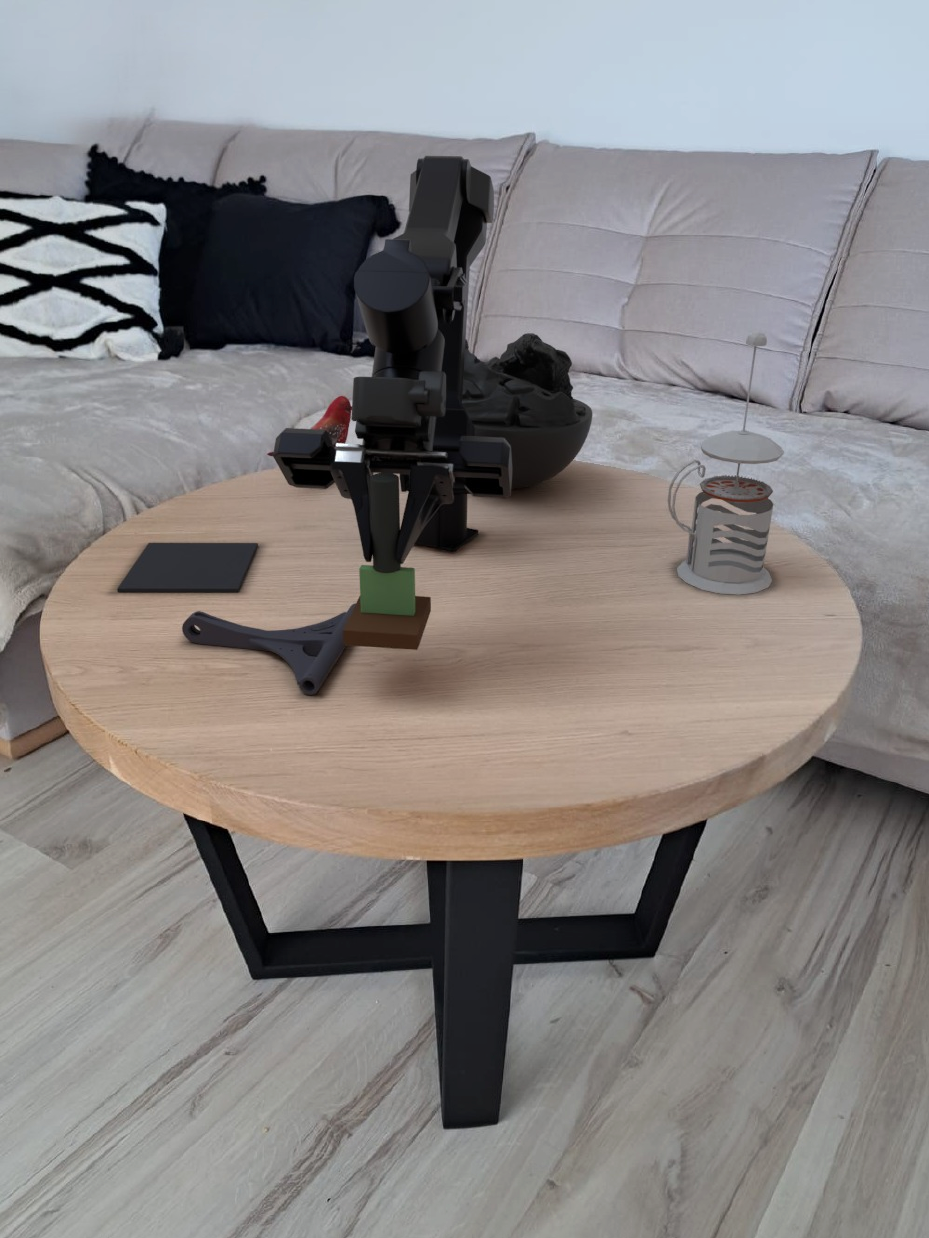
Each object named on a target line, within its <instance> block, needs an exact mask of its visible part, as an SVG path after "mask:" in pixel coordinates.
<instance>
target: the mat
mask: <svg viewBox="0 0 929 1238" xmlns="http://www.w3.org/2000/svg"><path fill="white" fill-rule="evenodd" d="M258 547H259V544H258V542H148V543H147V544H146V545H145V547H144V549H143V550H142V552H141V553H140V555H139V556H138V558H137V559H136V560H135V562H134V563H133V565H132V566H131V568H130V569H129V571H128V572H127V573H126V575H125V576H124V578H123V579H122V580H121V582H120V583H119V585H118V586H117V588H116V590H117V593H239V591H240V589H241V587H242V585H243V581H244V580H245V578H246V575H247V572H248V570H249V568H250V566H251V563H252V561H253V559H254V556H255V554H256V552H257V549H258Z"/></svg>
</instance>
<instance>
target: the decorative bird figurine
mask: <svg viewBox="0 0 929 1238" xmlns="http://www.w3.org/2000/svg"><path fill="white" fill-rule="evenodd" d="M351 416H352V403H351V402H350V399H349V398H348V397H346V396H344V395H339V396H337V397H336V398H334V399H333V401H332V402H331V403H330V404H329V405H328V407H327V408H326V410H325V412H324V414H323V415H322V417H321V418H320V419H319V420H318V421H316V423H315V424H314V425H312V426H311V427H310V428H309V429H320V430H327V432H328V434H329V437H330V439H331V441H332V444H333V446H334V445H335V443H343V444H347V443H346V442H347V439H348V436H349V428H350V423H351ZM273 453H274V451H270V452H268V453H266V455H267V456H268V457H273Z"/></svg>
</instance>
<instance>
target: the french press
mask: <svg viewBox="0 0 929 1238" xmlns="http://www.w3.org/2000/svg"><path fill="white" fill-rule="evenodd" d="M767 342H768V339H767V336H766V334H765V332H760V331H752V332H751V333H749V334H748V335H747V336H746V341H745V344H746V345H747V346H751V347H753V354H752V361H751V367H750V368H751V369H750V375H749V383H748V390H747V397H746V405H745V411H744V419H743V427H742V430H730V431H725V432H721V433H718V434H714V435H711V436H710V437H708V438H706V439H705V440H703V441H702V442H700V444H699V445H700V450H701V452H702V454H704V455H705V456H707V457H709V458H711V459H714V460H719V461H722V462H728V463H734V464H737V468H736V469H737V470H736V475H734V476H733V475H731V476H730V475H727V474H723V475H714V476H711V477H708V478H705V475H706V466H705V465H703V464H701V461H700V460H699V459H693V460H691V461H690V462H688V463H685V464H684V465H683V466H682V467H681V468H679V470H677V471H676V473H675V475H674V476H673V478H672V480H671V482H670V484H669V486H668V490H667V491H668V493H667V506H668V512H669V514H670V516H671V519H673V521H675V523H676V525H677V526H679V528H680V529H681V530H683V531H684V532H686V533H688V535H689V536H688V543H687V552H686V559H685V560H684V561H682V562H681V563H680V564H679V566H678V567H677V568H676V571H677V576H678V577H679V578H680V579H681V580H683V581H684V582H685V583H686V584H688V585H690V586H692V587H695V588H697V589H699V590H702V591H707V592H711V593H716V594H721V595H737V596H738V595H739V596H740V595H748V594H755V593H759V592H761V591H764V590H766V589H767V588H768V589H769V587H770V585H771V584H772V583H773V579H772V576H771V574H770V572H769V571H768V570H767V569H766V567H765V566H764V565H765V560H766V554H767V547H768V540H769V535H770V529H771V522H772V517H773V510H774V502H773V501H772V500H771V499H770V497H771V495H772V494H773V493H774V490H773V489H772V487H771V485H769V484H768V483H766V482H764V481H761V480H758V479H755V478H753V477H751V478H749V477H746V476H744V477H743V476H740V469H741V464H744V465H745V464H746V465H759V464H770V463H774V462H777V461H778V460H779V459H780V458H781V457H783V455H784V454H785V451H784V449H783V448H782V446H781V445H779V443H777V442H776V441H774V440H773V439H772V438H770V437H768V436H765V435H763V434H760V433H758V432H752V431H749V430H746V426H747V418H748V410H749V405H750V404H749V403H750V396H751V388H752V381H753V374H754V367H755V360H756V352H757V347H765V346H766V345H767ZM694 463H696V464H697V465H696V466H694V467H693V468H691V469H688V471H687V472H686V473H685V474H684V475H682V477H681V478H680V479H679V481H678V483H677V485H676V487H675V490H674V492H673V495H672V490H673V487H674V484H675V482H676V480H677V479H678V476H679V475H680V474H681V473H682V472H683V471H684V470H685V469H686V468H687V467H688V466H690V465H692V464H694ZM701 469H702V471H701ZM696 470H697V475H698V476H699V477H700V478H705V479H703V480H702V481H701V482H700V483H699V485H700V489H701V492H699V493H697V495H696V496H695V497H694V506H693V513H692V514H693V515H692V521H691V522H692V523H691V527H690V526H689V525H687V524H685V523H683V522H681V521H680V520H679V519H678V516H677V512H676V499H677V494H678V491H679V489H680V486H681V484H682V483H683V481H684V480H685V479H686V478H687V477H688V476H689V475H690V474H691V473H692V472H694V471H696ZM711 499H714V500H722V501H723V502H725V503H727V504H728V505H731V506H733V507H734V508H737V509H740V510H742V511H744V512H747V513H752V514H739V513H736V512H734V511H732V510H730V509H729V508H726V507H725V506H722V505H720V504H713V503H710V504H708V505H706V506H704V505H702V504H703V503H706V502H707V501H709V500H711ZM671 500H672V501H671ZM671 503H672V505H671ZM717 526H724V527H725V528H727V529H730V530H723V529H721V528H718V527H717ZM744 527H745V528H744ZM747 528H748V529H747ZM718 538H724V539H725V540H728V541H729V542H727V541H726V542H723V541H721V540H720V539H718Z"/></svg>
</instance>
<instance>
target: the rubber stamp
mask: <svg viewBox="0 0 929 1238" xmlns="http://www.w3.org/2000/svg"><path fill="white" fill-rule="evenodd" d="M370 489H371V519H372V548H373V555H372V564H361V565H360V567H359V569H358V575H359V597H358V599H357V600H356V602H355V603H356V605H355V607H354V609H353V611H352V613H351V615H350V617H349V619H348V621H347V623H346V625H345V627H344V629H343V644H344V645H346V646H350V647H363V648H364V647H366V648H367V647H368V648H379V649H380V648H381V649H395V650H409V651H410V650H412V651H418V650H419V647H420V645H421V641H422V639H423V636H424V633H425V630H426V626H427V623H428V621H429V618H430V614H431V612H432V597H431V596H423V595H422V596H421V595H416V569H415V567H405V566H402V564H398V563H397V560H396V554H397V543H398V537H399V533H400V528H401V520H400V519H401V515H400V510H401V509H400V476H399V475H398V474H392V473H373V475H372V476H371V477H370Z"/></svg>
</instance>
